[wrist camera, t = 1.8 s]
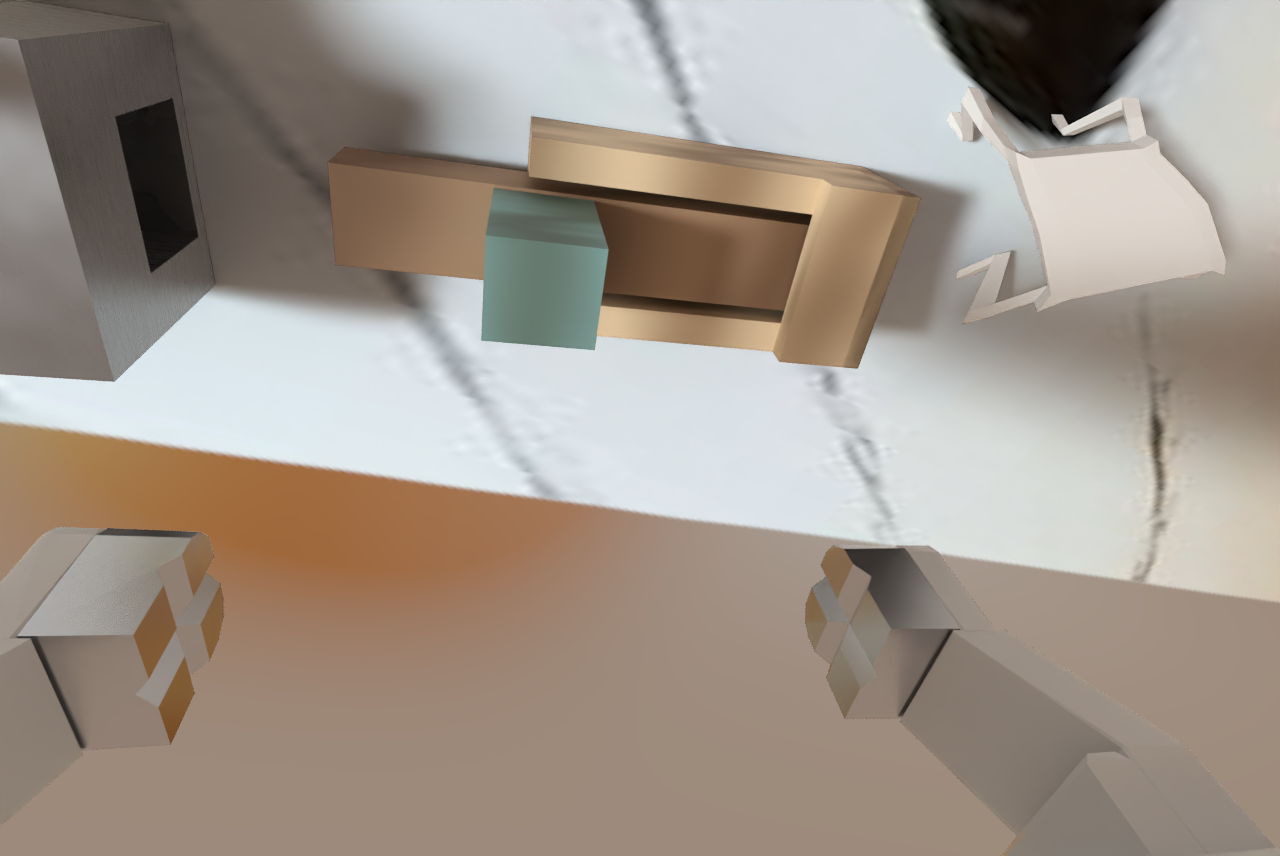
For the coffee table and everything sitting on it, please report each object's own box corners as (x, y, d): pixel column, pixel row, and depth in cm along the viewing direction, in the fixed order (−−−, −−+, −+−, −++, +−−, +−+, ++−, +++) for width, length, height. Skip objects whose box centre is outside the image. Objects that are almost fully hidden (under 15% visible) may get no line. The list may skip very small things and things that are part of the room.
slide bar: (822, 211, 24) (911, 280, 19) (798, 290, 26) (874, 376, 20) (345, 147, 21) (277, 206, 15) (351, 242, 22) (292, 328, 17)
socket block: (168, 23, 20) (18, 39, 14) (215, 285, 24) (113, 381, 18) (28, 1, 19) (-192, 7, 13) (102, 274, 23) (-41, 371, 17)
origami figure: (867, 294, 28) (925, 347, 24) (942, 65, 23) (1030, 82, 19) (1115, 314, 30) (1207, 366, 26) (1227, 109, 26) (1360, 133, 21)
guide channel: (862, 166, 25) (921, 198, 21) (814, 318, 28) (857, 368, 24) (531, 116, 22) (531, 142, 19) (518, 288, 25) (517, 339, 22)
